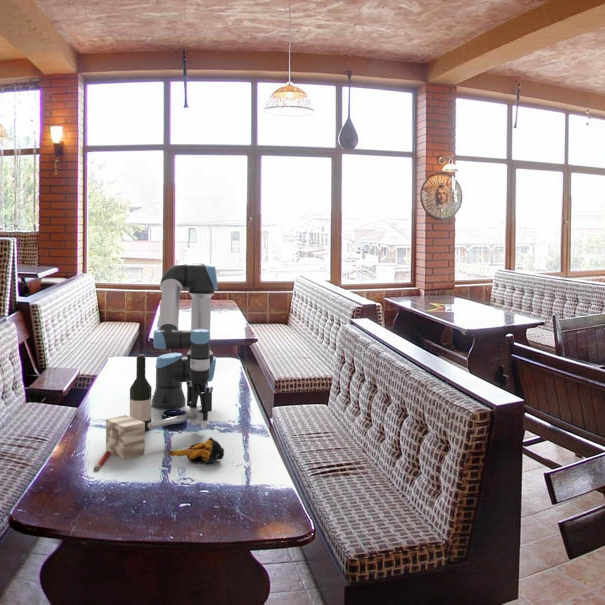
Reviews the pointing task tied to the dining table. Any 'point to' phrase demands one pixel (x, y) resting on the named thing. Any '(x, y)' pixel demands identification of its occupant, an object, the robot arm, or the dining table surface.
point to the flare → (102, 461)
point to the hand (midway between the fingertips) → (198, 426)
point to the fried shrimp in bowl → (201, 452)
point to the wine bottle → (141, 395)
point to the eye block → (125, 437)
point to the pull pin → (178, 418)
